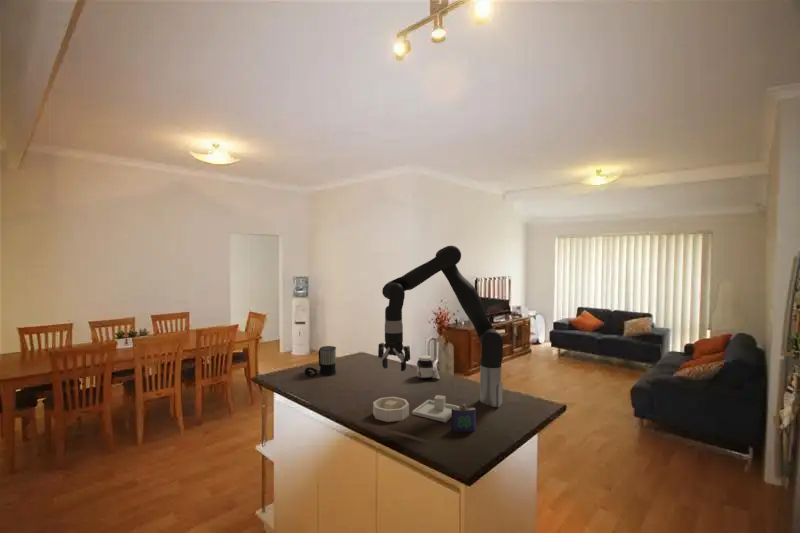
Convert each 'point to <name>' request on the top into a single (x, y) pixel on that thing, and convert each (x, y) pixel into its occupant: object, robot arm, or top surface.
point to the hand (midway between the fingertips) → (394, 369)
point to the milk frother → (325, 362)
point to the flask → (463, 419)
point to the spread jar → (426, 368)
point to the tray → (434, 411)
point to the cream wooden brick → (391, 405)
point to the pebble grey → (439, 402)
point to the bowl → (390, 414)
